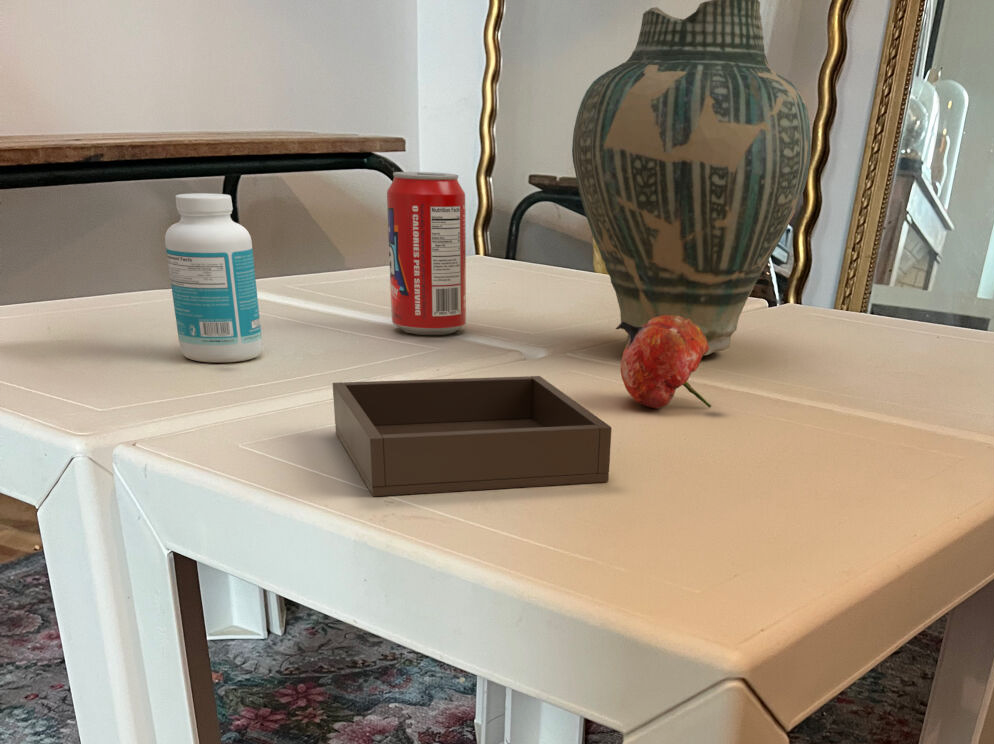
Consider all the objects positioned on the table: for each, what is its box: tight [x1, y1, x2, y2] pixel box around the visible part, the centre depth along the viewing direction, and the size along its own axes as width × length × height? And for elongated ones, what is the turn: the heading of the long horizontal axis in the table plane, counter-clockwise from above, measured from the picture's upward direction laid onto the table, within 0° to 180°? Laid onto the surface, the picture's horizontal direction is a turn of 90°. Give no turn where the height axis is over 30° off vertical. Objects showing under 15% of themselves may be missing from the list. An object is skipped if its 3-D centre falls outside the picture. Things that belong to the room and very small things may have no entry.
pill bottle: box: [164, 192, 263, 364], centre depth 101 cm, size 8×7×14 cm
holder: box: [332, 375, 613, 497], centre depth 77 cm, size 16×16×4 cm
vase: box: [571, 0, 812, 357], centre depth 106 cm, size 22×22×30 cm
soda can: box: [386, 171, 467, 336], centre depth 116 cm, size 8×8×15 cm
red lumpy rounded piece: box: [615, 315, 712, 409], centre depth 92 cm, size 7×7×10 cm
